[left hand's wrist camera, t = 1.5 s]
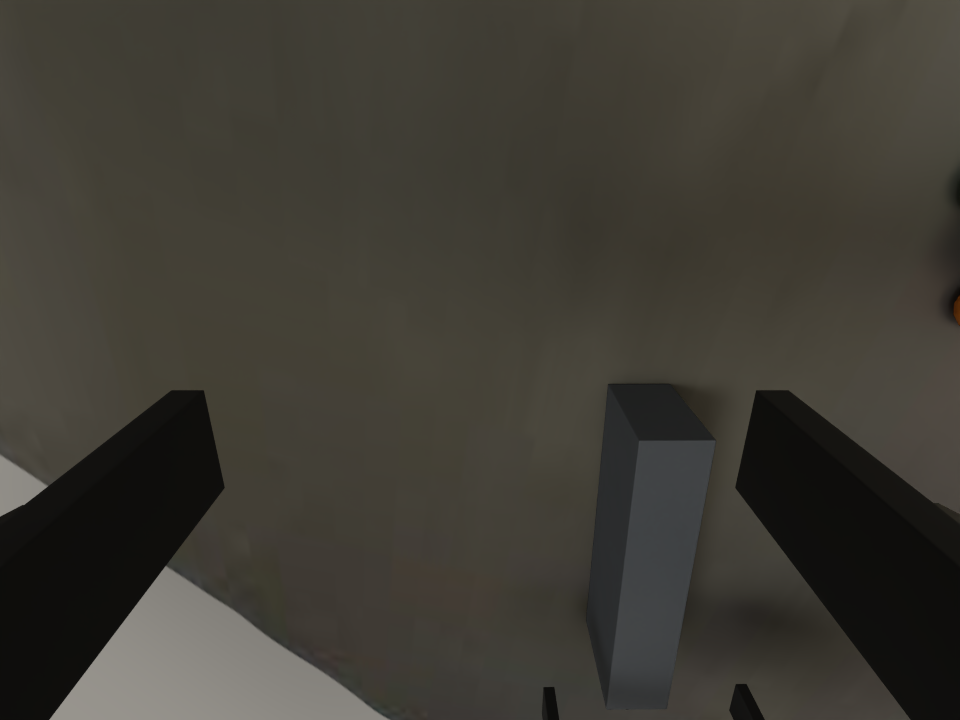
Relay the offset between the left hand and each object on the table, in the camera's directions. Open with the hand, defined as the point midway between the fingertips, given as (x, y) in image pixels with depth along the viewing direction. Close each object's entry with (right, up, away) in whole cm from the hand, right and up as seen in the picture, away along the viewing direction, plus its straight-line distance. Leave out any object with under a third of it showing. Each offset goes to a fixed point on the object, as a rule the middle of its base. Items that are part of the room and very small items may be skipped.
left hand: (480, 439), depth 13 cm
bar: (+12, -11, +31) cm, 35 cm away
